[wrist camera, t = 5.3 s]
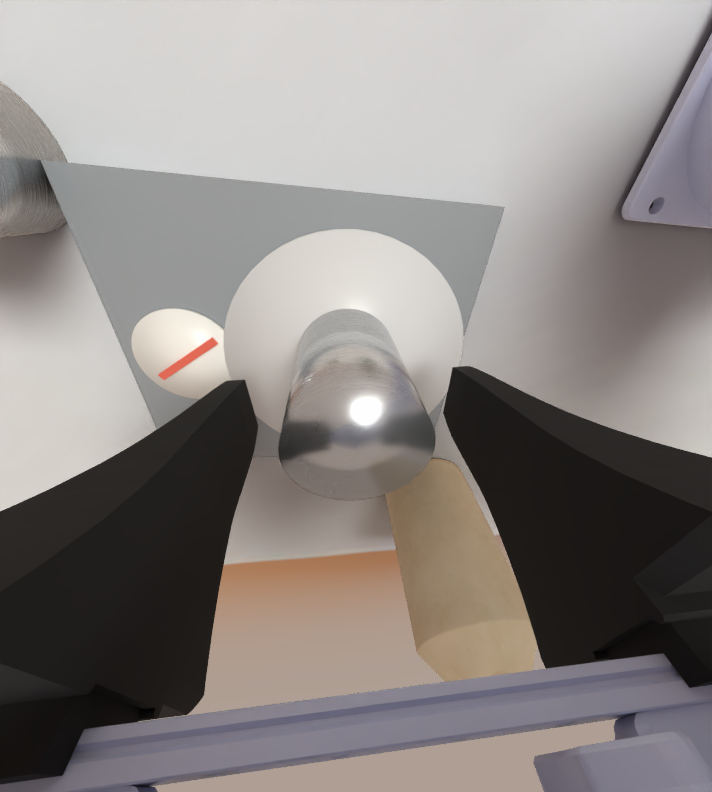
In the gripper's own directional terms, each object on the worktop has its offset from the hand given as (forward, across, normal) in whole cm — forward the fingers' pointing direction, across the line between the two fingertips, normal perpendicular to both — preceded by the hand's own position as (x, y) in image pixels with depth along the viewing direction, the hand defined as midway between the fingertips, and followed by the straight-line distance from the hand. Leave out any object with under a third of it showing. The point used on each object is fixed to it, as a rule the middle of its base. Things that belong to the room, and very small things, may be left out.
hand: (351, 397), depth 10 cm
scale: (+4, +2, 0) cm, 4 cm away
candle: (+4, -5, +10) cm, 12 cm away
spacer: (+2, 0, 0) cm, 2 cm away
